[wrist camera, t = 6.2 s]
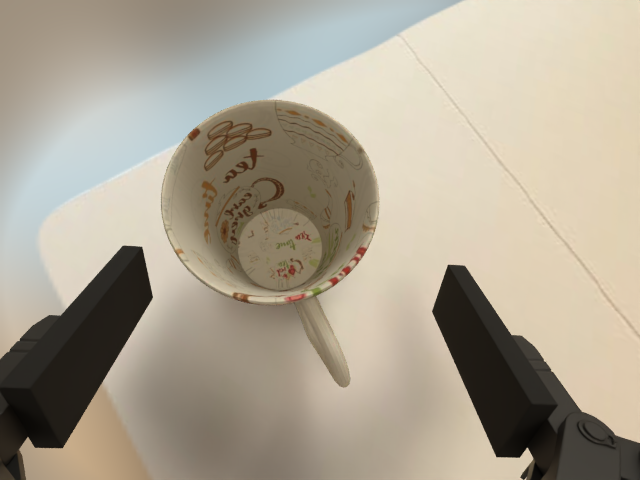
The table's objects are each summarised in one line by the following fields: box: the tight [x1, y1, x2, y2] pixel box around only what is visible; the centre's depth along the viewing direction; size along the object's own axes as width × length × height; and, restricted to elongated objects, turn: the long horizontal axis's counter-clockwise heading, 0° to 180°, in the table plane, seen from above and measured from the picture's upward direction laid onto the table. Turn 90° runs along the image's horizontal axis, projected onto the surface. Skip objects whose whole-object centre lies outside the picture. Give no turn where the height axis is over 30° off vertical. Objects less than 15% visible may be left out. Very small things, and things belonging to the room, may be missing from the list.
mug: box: [161, 100, 379, 387], centre depth 17 cm, size 8×13×10 cm, turn 27°
